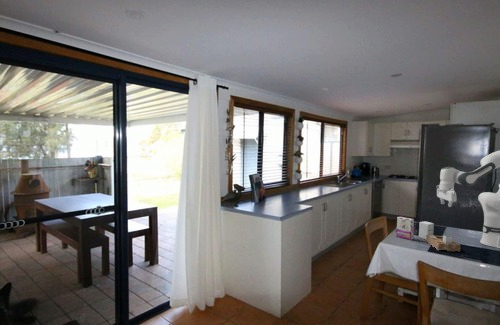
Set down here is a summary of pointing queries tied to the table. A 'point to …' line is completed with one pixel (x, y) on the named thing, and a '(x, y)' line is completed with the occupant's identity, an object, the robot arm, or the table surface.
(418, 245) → the table surface
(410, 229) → the candy bar box
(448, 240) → the plug
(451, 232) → the table surface
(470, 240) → the table surface
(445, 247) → the socket block
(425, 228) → the supplement box
